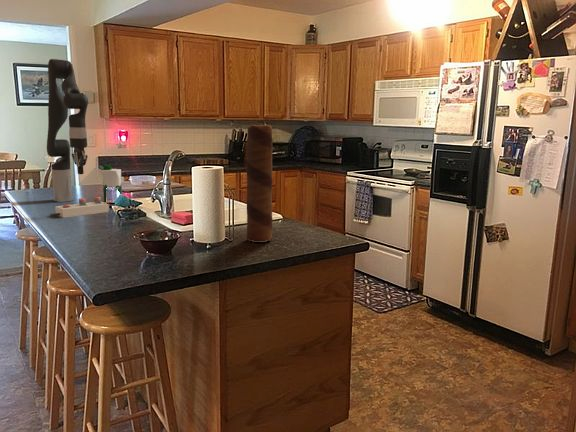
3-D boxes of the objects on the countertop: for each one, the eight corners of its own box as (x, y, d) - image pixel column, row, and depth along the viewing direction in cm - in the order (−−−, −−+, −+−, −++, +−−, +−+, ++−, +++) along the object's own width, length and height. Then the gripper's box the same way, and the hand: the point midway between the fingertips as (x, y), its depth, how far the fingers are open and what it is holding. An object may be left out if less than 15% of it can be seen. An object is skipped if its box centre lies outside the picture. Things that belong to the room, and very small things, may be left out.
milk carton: (108, 200, 265) (106, 164, 261) (124, 201, 265) (122, 165, 261) (101, 203, 257) (99, 166, 253) (118, 204, 257) (116, 166, 252)
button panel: (47, 215, 224) (46, 206, 223) (101, 209, 243) (100, 200, 242) (54, 219, 218) (53, 209, 217) (109, 211, 236) (108, 202, 235)
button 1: (62, 210, 226) (61, 204, 225) (68, 209, 228) (68, 204, 228) (64, 211, 224) (64, 205, 223) (71, 210, 226) (71, 205, 226)
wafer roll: (248, 244, 182) (249, 124, 173) (243, 238, 192) (244, 124, 183) (275, 243, 185) (277, 125, 176) (269, 236, 195) (270, 124, 186)
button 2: (78, 204, 231) (77, 198, 230) (84, 203, 233) (83, 198, 232) (80, 205, 229) (80, 199, 228) (86, 204, 231) (86, 199, 230)
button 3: (93, 202, 236) (93, 197, 236) (99, 201, 238) (99, 196, 238) (96, 203, 234) (95, 198, 234) (102, 202, 236) (101, 197, 236)
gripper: (64, 136, 226) (67, 173, 230) (75, 138, 217) (78, 176, 221) (80, 136, 232) (82, 172, 235) (92, 137, 223) (94, 174, 226)
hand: (80, 174), depth 228 cm, fingers closed
